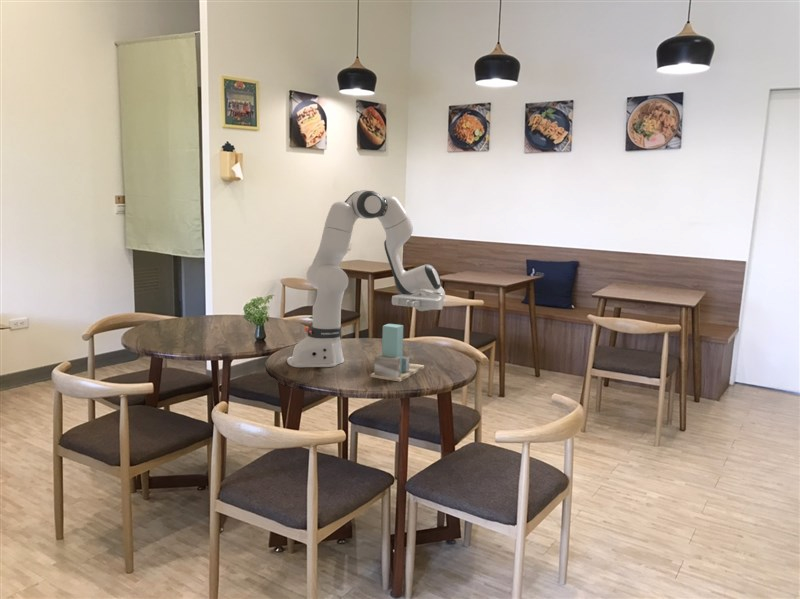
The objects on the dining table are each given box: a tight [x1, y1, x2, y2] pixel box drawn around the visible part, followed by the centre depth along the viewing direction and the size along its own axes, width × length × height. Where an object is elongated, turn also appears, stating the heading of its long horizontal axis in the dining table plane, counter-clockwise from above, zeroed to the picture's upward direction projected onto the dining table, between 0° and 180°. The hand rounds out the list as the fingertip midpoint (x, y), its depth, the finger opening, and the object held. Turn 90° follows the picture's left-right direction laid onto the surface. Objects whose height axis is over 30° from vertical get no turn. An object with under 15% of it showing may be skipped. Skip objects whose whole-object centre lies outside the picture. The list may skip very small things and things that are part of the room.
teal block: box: [381, 323, 404, 373], centre depth 236 cm, size 5×6×18 cm
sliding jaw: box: [402, 355, 410, 372], centre depth 241 cm, size 3×9×5 cm, turn 65°
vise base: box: [370, 354, 425, 383], centre depth 242 cm, size 22×12×8 cm, turn 155°
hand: (408, 304), depth 246 cm, fingers closed
